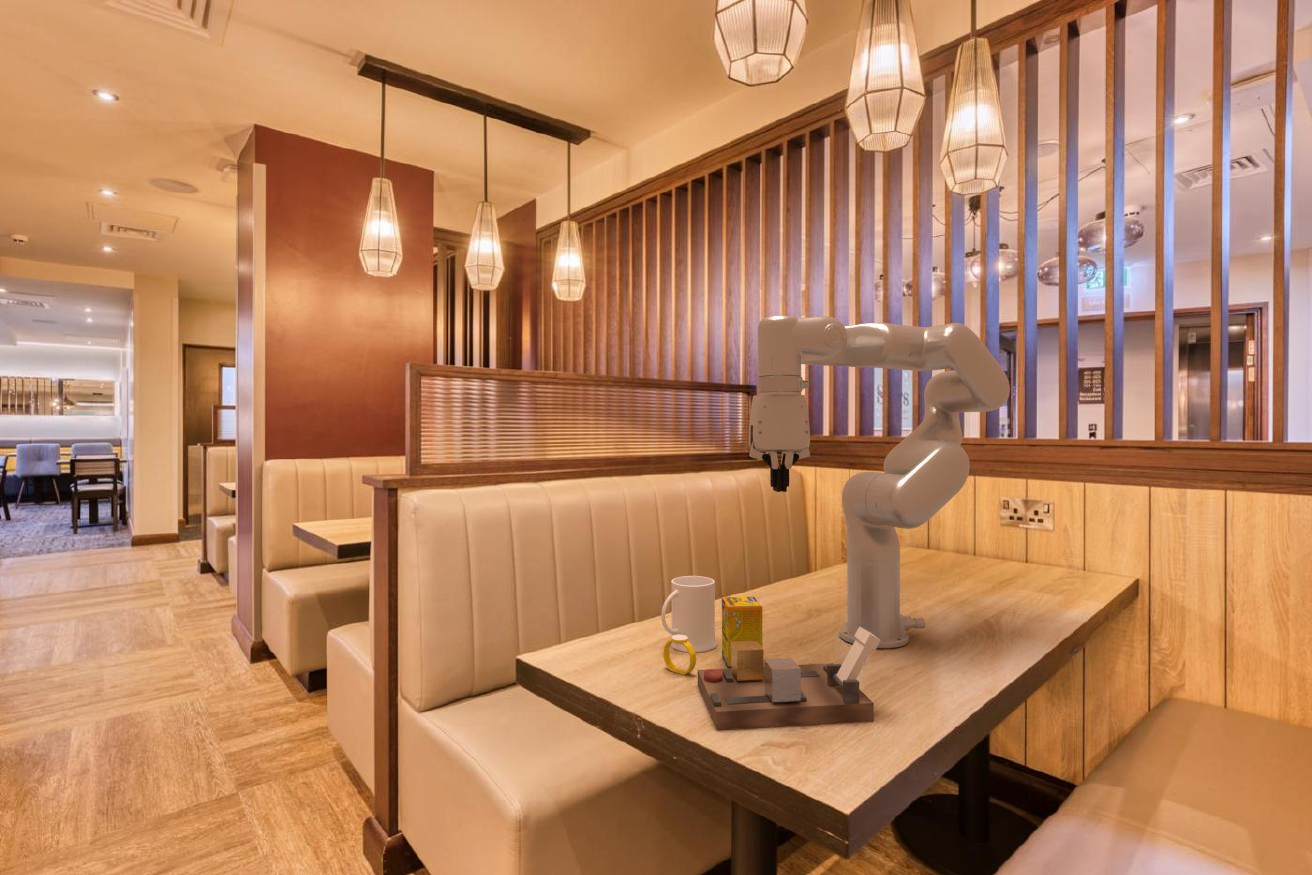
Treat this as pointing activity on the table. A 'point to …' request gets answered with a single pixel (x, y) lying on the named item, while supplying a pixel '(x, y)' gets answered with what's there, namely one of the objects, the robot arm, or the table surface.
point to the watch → (684, 640)
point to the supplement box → (740, 623)
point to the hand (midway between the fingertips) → (779, 490)
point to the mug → (692, 612)
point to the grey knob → (782, 680)
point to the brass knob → (747, 660)
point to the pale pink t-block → (856, 656)
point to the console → (754, 708)
